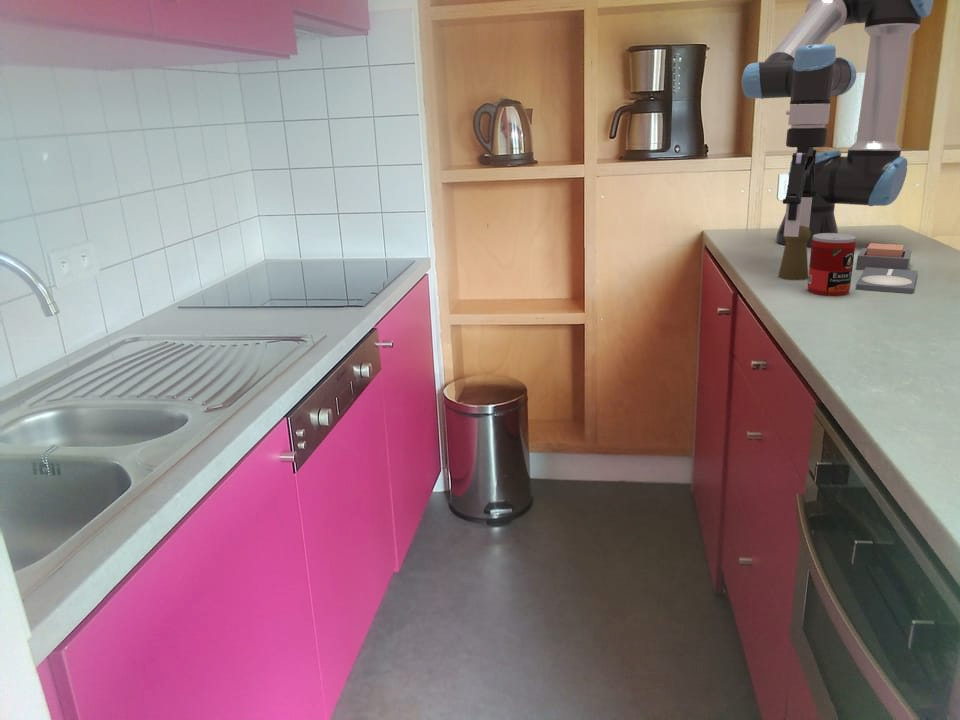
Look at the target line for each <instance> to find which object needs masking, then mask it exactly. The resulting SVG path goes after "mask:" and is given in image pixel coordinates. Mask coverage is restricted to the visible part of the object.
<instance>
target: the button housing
mask: <svg viewBox="0 0 960 720" xmlns="http://www.w3.org/2000/svg"><path fill="white" fill-rule="evenodd" d="M867 248H868V247H867ZM867 248H865V247H862V248H861V249H860V251H859V253H858V254H857V258H856V265H855V266H856V267H855V270H861V271H862V270H863V271H864V269H865V267H871V268H886V269H902V270H909V267H910V263H911V256H912V250H906V249H905V250H904V249H903V255H902V257H884V256H867V255H866V254H867Z"/></svg>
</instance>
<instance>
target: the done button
mask: <svg viewBox="0 0 960 720" xmlns="http://www.w3.org/2000/svg"><path fill="white" fill-rule="evenodd" d="M904 247H905V245H904V244H895V243H894V244H891V243H876V242H875V243H873V242H871V243H869V245H868V246H867V254H866V255H867V256H884V257H902V255H903V250H904V249H905V248H904Z"/></svg>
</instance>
